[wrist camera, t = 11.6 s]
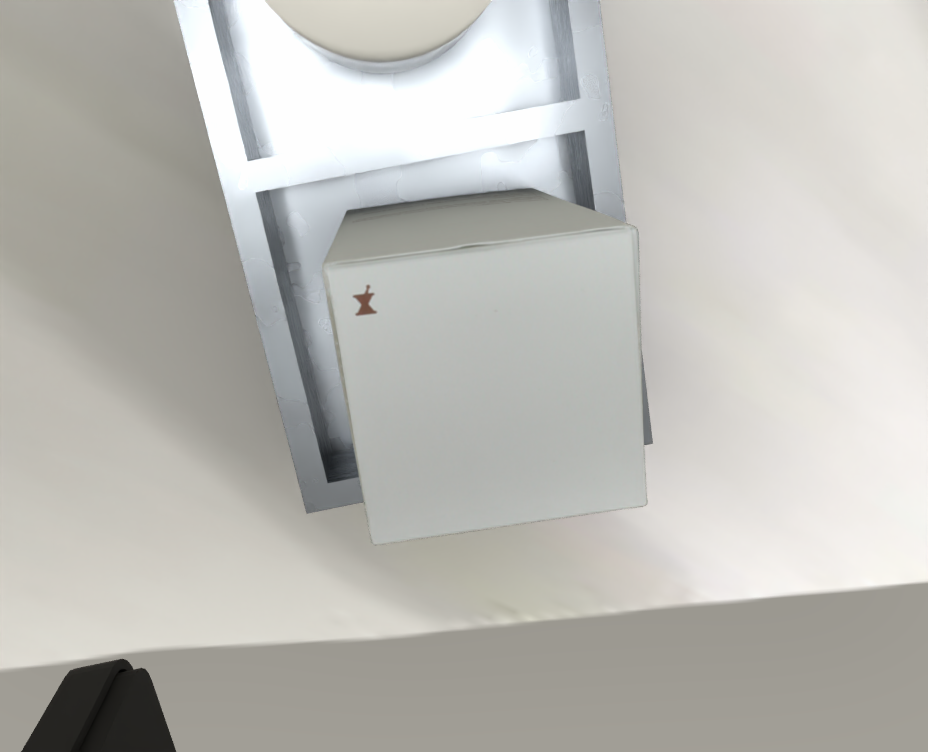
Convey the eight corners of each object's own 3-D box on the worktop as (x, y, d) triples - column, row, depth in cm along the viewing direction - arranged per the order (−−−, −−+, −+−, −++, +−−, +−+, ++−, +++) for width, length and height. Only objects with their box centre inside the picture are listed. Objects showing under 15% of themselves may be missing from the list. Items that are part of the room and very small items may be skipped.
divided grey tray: (315, 471, 34) (306, 513, 30) (148, -194, 27) (109, -248, 23) (623, 409, 35) (652, 443, 31) (536, -261, 28) (560, -325, 24)
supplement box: (369, 398, 33) (359, 554, 20) (343, 205, 30) (313, 254, 18) (555, 375, 33) (653, 515, 21) (542, 184, 31) (642, 217, 19)
